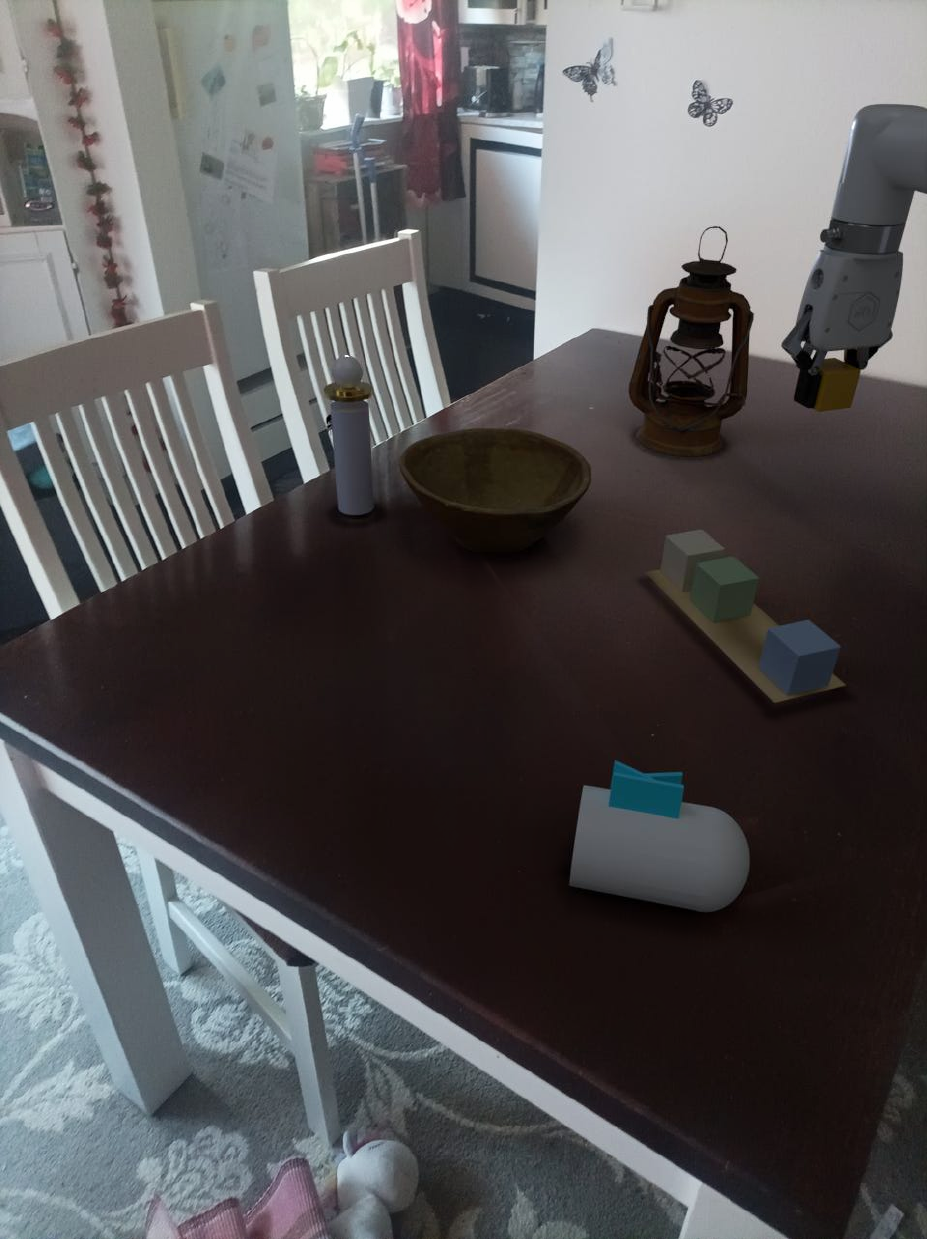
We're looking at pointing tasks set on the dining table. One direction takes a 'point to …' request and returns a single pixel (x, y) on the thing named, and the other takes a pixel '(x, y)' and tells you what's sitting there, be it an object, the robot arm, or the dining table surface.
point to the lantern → (700, 311)
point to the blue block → (798, 657)
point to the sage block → (723, 589)
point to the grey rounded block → (657, 844)
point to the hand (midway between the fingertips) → (822, 400)
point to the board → (737, 639)
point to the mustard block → (836, 385)
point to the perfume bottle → (351, 436)
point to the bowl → (495, 485)
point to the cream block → (687, 556)
